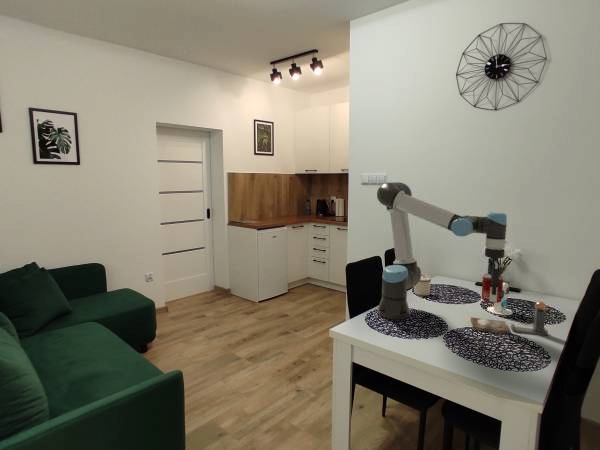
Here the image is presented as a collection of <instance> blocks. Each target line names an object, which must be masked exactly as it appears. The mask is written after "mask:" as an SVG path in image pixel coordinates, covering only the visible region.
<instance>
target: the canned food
mask: <svg viewBox="0 0 600 450" xmlns="http://www.w3.org/2000/svg"><path fill="white" fill-rule="evenodd" d="M503 280H504V277H503V275H500V274H499V287H498V289H497V302H493V304H494V303H498V302H501V300H502V289H503ZM481 283H482V284H481V287H482V288H481V299H482V300H483V301H484V302H488V303H492V302H491V301H489V299H490V287H489V285H491V274H488V273H484V274H483V275H482V281H481Z"/></svg>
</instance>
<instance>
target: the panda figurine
mask: <svg viewBox="0 0 600 450" xmlns="http://www.w3.org/2000/svg"><path fill="white" fill-rule="evenodd" d="M509 293H510V281H508V280H504V279H503V289H502V300H501V302H498V303H494V302H493V306H488V307H487V308H486V309H487V311H488V312H490V313H491V314H492V313H493V314H495V315H501V316H511V315H513V311H512V310H511V309H508V308H507V304H508V302H509Z"/></svg>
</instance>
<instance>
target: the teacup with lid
mask: <svg viewBox="0 0 600 450" xmlns="http://www.w3.org/2000/svg"><path fill="white" fill-rule="evenodd" d="M431 279H432V278H430V276H427V275H425V273H421V279H420V281H419V282H418V283H417V284H416V285H415V286H413V287H412V288H413V289H414V294H415V295H418V296H430V294H431V282H432V281H431Z"/></svg>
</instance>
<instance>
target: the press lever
mask: <svg viewBox="0 0 600 450" xmlns="http://www.w3.org/2000/svg"><path fill="white" fill-rule="evenodd" d="M546 308H547V305H546V303H544V301H537V302H535V304H534V313H533V324H532V329H534V330H535V332H542V333H544V328H545V322H546V311H545V310H546Z"/></svg>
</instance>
